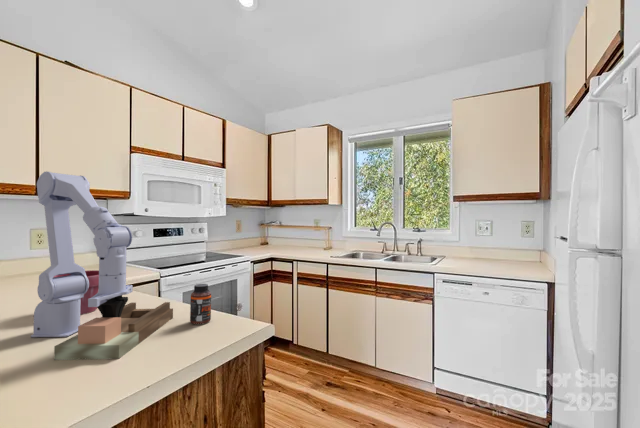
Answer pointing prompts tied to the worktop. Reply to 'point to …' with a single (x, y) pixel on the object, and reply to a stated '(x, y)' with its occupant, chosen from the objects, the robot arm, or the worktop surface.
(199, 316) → the supplement bottle
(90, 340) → the block
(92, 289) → the plant pot
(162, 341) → the worktop surface
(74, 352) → the chute
